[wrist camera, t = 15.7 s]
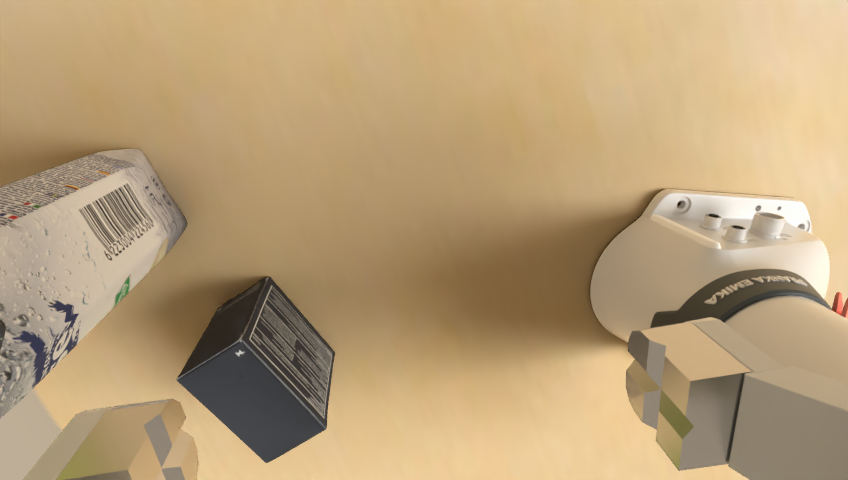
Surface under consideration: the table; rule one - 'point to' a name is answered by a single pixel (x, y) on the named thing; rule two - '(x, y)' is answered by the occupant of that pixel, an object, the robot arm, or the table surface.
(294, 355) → the small box
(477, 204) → the table surface
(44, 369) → the juice carton
